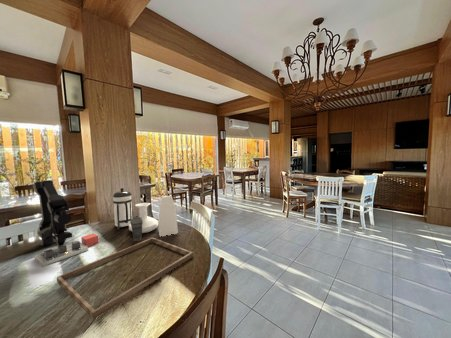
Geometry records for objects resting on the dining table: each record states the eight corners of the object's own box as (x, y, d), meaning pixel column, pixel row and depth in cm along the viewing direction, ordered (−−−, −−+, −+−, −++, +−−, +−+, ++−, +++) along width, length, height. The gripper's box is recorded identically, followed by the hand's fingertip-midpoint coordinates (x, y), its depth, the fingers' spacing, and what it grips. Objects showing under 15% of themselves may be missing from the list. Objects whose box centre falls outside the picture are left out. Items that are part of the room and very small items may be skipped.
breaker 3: (72, 247, 112) (71, 242, 112) (78, 245, 114) (77, 240, 114) (74, 248, 110) (73, 243, 110) (80, 246, 113) (80, 241, 112)
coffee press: (106, 229, 144) (104, 189, 141) (121, 222, 159) (120, 186, 157) (128, 231, 141) (126, 190, 138) (141, 223, 156) (139, 186, 154)
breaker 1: (44, 256, 102) (44, 251, 102) (51, 254, 104) (51, 248, 104) (46, 258, 100) (45, 252, 100) (53, 255, 103) (53, 250, 102)
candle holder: (149, 236, 131) (148, 208, 130) (122, 234, 134) (121, 207, 133) (163, 225, 151) (162, 201, 150) (139, 224, 154) (138, 200, 153)
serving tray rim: (57, 282, 84) (56, 276, 84) (152, 241, 124) (152, 237, 124) (93, 320, 65) (92, 313, 65) (193, 256, 105) (192, 252, 104)
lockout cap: (81, 244, 121) (81, 237, 120) (93, 240, 126) (93, 233, 126) (86, 246, 117) (85, 239, 117) (98, 242, 123) (97, 235, 122)
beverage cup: (138, 242, 122) (137, 211, 121) (128, 241, 124) (127, 210, 122) (145, 237, 129) (144, 208, 128) (136, 236, 131) (134, 207, 129)
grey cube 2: (58, 251, 108) (57, 246, 107) (64, 249, 110) (64, 243, 110) (59, 252, 106) (59, 247, 106) (66, 250, 108) (66, 245, 108)
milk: (175, 228, 146) (174, 194, 144) (177, 233, 136) (176, 197, 134) (158, 230, 141) (157, 195, 139) (159, 236, 131) (158, 198, 129)
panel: (34, 259, 104) (34, 254, 103) (79, 244, 120) (78, 240, 120) (42, 266, 96) (41, 262, 96) (88, 250, 113) (87, 246, 113)
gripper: (33, 222, 107) (36, 249, 108) (44, 228, 97) (46, 259, 98) (59, 216, 116) (61, 241, 117) (71, 222, 106) (73, 249, 107)
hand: (60, 247), depth 110 cm, fingers closed
